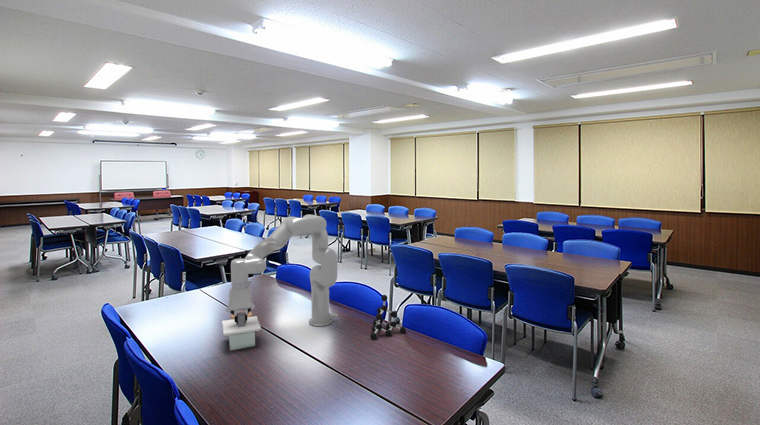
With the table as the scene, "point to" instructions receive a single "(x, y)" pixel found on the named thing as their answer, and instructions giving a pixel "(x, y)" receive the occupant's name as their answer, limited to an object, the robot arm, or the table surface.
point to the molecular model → (380, 320)
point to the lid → (240, 325)
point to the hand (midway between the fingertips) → (241, 322)
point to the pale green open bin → (242, 340)
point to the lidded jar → (242, 311)
